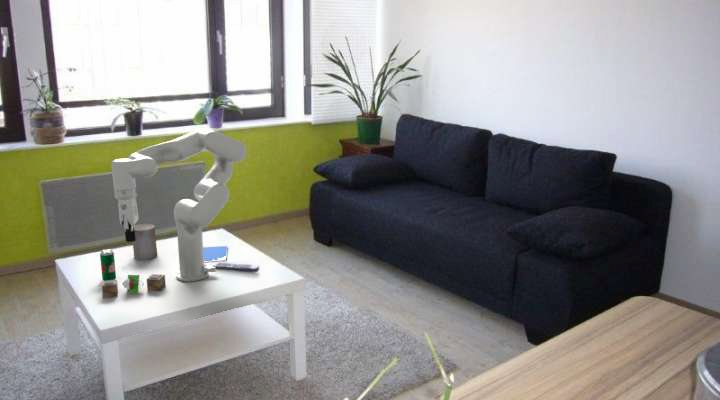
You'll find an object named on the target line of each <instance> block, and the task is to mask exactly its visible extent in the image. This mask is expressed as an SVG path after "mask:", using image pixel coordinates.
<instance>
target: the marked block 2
mask: <svg viewBox="0 0 720 400" xmlns="http://www.w3.org/2000/svg"><path fill="white" fill-rule="evenodd" d="M166 287H167V286H166V275H165V274H158V273H157V274H155V273H152V274H151V275H149V276H148V277H147V278H146V291H147V292H157V293H158V292H159V293H161V291H163V290H164V289H165V288H166Z"/></svg>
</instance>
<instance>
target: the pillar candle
mask: <svg viewBox="0 0 720 400" xmlns="http://www.w3.org/2000/svg"><path fill="white" fill-rule="evenodd" d="M134 230H135V237H136V240H135V241H134V242H132V249H133V258H134V259H135V260H137V261H144V260H145V261H146V260H152V259H154V258H156V257H157V256H158V247H157V237H156V228H155V225H154V224H152V223H140V224H134Z"/></svg>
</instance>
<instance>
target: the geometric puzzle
mask: <svg viewBox="0 0 720 400" xmlns="http://www.w3.org/2000/svg"><path fill="white" fill-rule="evenodd" d="M140 280H141V281H143V279H142V278H141V277H140V274H128V275H127V278H126V279H125V280H124V281H123V282H122V284H121V285H122V286H123V287H124V289H126V293H127V294H139V292H140V290H141V289H142V288H140V287H142V286H144V285H145V283H142V285H141V283H140V282H141V281H140Z"/></svg>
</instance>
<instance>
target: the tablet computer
mask: <svg viewBox="0 0 720 400" xmlns="http://www.w3.org/2000/svg"><path fill="white" fill-rule="evenodd" d="M227 247H228V246H227V245H226V246H225V245H224V246H220V245H219V246H206V247H205V246H203V256H204V261H212V260H213V259H214V260H218V259H217V258H222V257H224V256H226V255H227V256H228V254H227Z"/></svg>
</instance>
